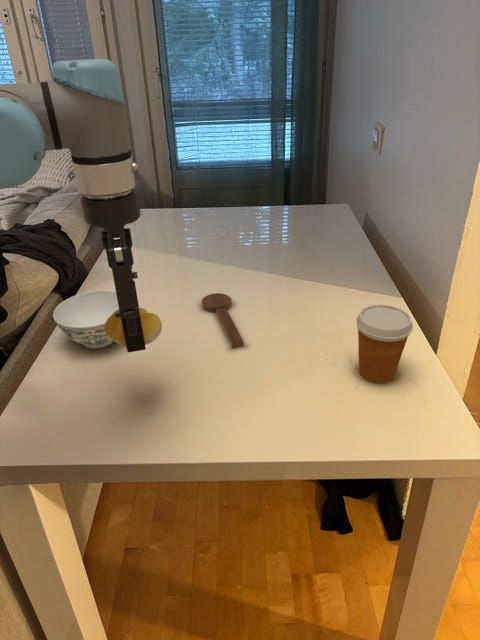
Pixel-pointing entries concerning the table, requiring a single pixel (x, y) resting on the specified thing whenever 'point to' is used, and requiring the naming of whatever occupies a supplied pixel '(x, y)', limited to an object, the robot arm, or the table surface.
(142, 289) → the table surface
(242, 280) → the table surface
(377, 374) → the disposable coffee cup
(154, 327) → the bread roll
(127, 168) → the robot arm
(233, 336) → the wooden spoon
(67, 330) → the chinaware
